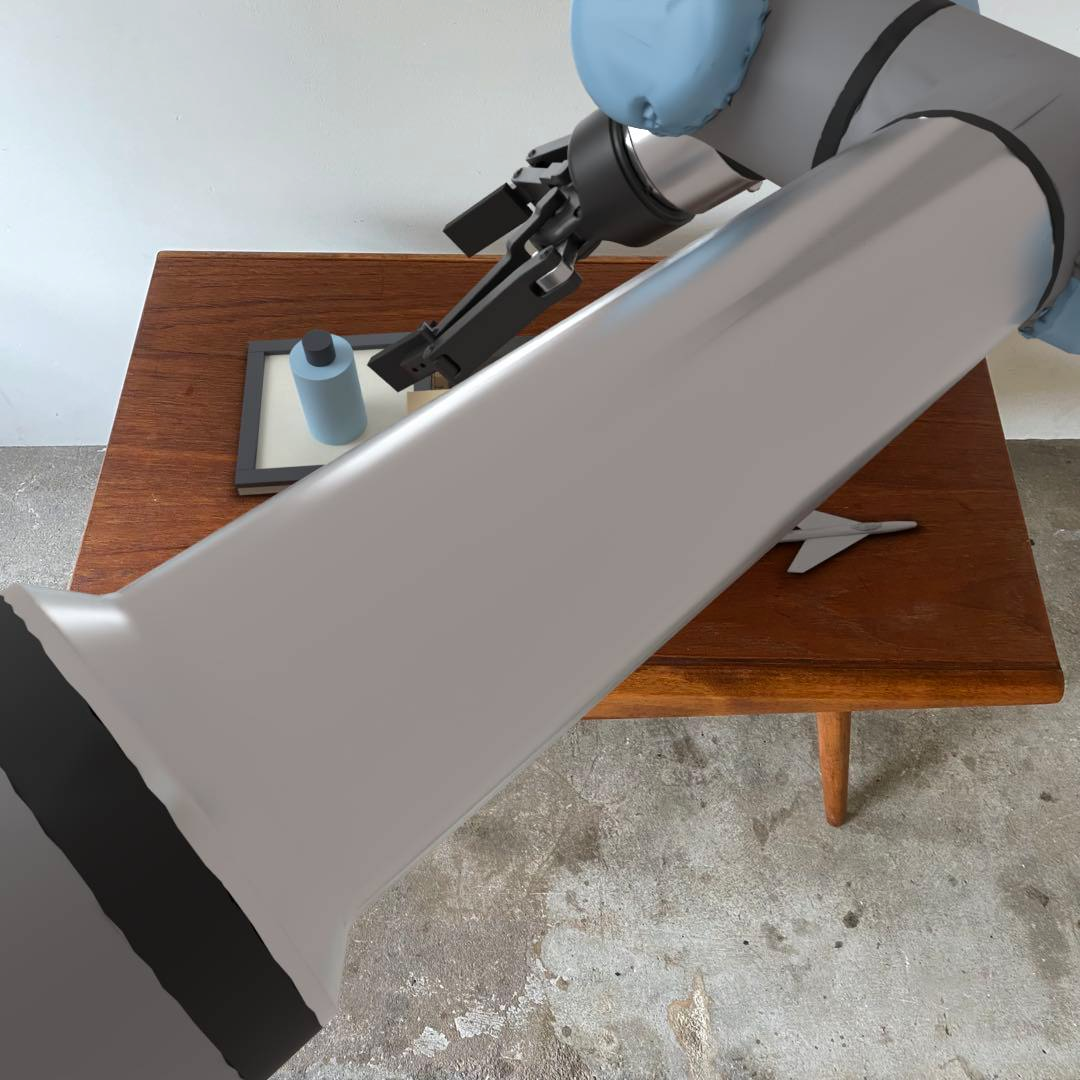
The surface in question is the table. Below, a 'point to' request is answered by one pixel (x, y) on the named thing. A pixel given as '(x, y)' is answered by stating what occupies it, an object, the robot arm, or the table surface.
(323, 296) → the table surface
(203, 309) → the table surface
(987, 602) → the table surface
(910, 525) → the toy airplane
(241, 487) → the whiteboard
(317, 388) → the cleaner bottle
